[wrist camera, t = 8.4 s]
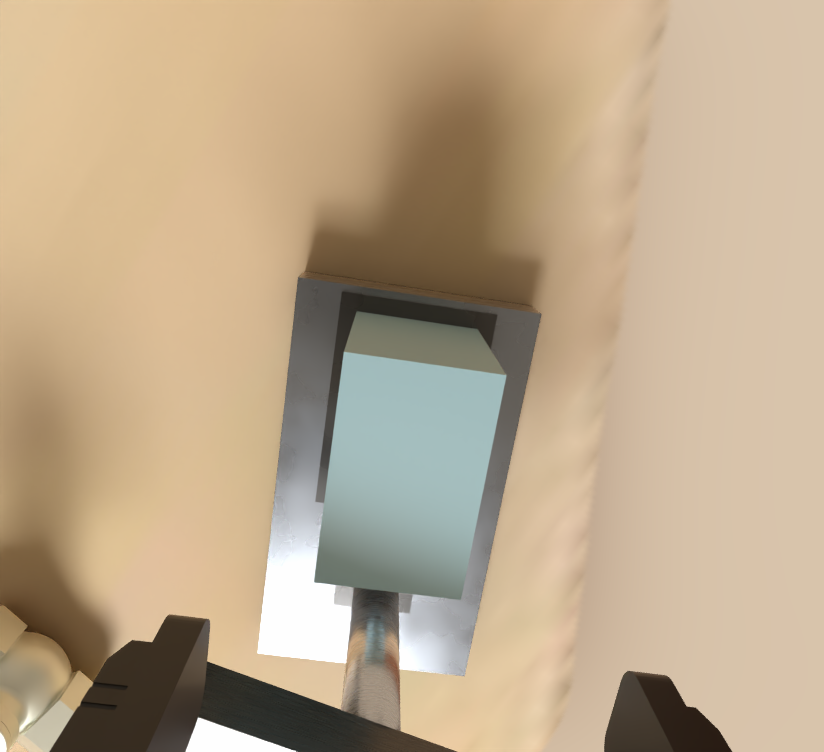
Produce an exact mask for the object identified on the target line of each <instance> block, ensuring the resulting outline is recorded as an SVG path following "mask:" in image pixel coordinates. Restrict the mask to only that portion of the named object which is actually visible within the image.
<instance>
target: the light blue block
mask: <svg viewBox="0 0 824 752" xmlns="http://www.w3.org/2000/svg"><path fill="white" fill-rule="evenodd" d="M506 376H507V375H506V374H505V372H504V370H503V369H502V367H501V366H500V364H499V362H498V361H497V359H496V358H495V356H494V354H493V353H492V351H491V350H490V348H489V346H488V345H487V343H486V342H485V340H484V338H483V337H482V335H481V334H480V332H479V331H478V329H473V328H467V327H460V326H453V325H446V324H440V323H433V322H426V321H419V320H413V319H406V318H399V317H393V316H386V315H379V314H372V313H366V312H359V311H357V312H356V315H355V318H354V322H353V325H352V328H351V331H350V334H349V337H348V340H347V344H346V347H345V350H344V355H343V362H342V370H341V378H340V385H339V393H338V401H337V408H336V416H335V424H334V431H333V439H332V446H331V454H330V462H329V469H328V477H327V485H326V492H325V500H324V508H323V515H322V523H321V531H320V538H319V546H318V553H317V561H316V569H315V576H314V583H322V584H331V585H339V586H347V587H356V588H364V589H373V590H381V591H389V592H398V593H406V594H415V595H423V596H431V597H440V598H448V599H457V600H461V597H462V592H463V588H464V583H465V578H466V573H467V568H468V563H469V558H470V553H471V548H472V543H473V538H474V533H475V528H476V523H477V519H478V514H479V509H480V504H481V499H482V494H483V489H484V484H485V479H486V474H487V469H488V464H489V459H490V454H491V450H492V445H493V440H494V435H495V430H496V425H497V420H498V415H499V410H500V405H501V400H502V395H503V390H504V385H505V381H506Z"/></svg>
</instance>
